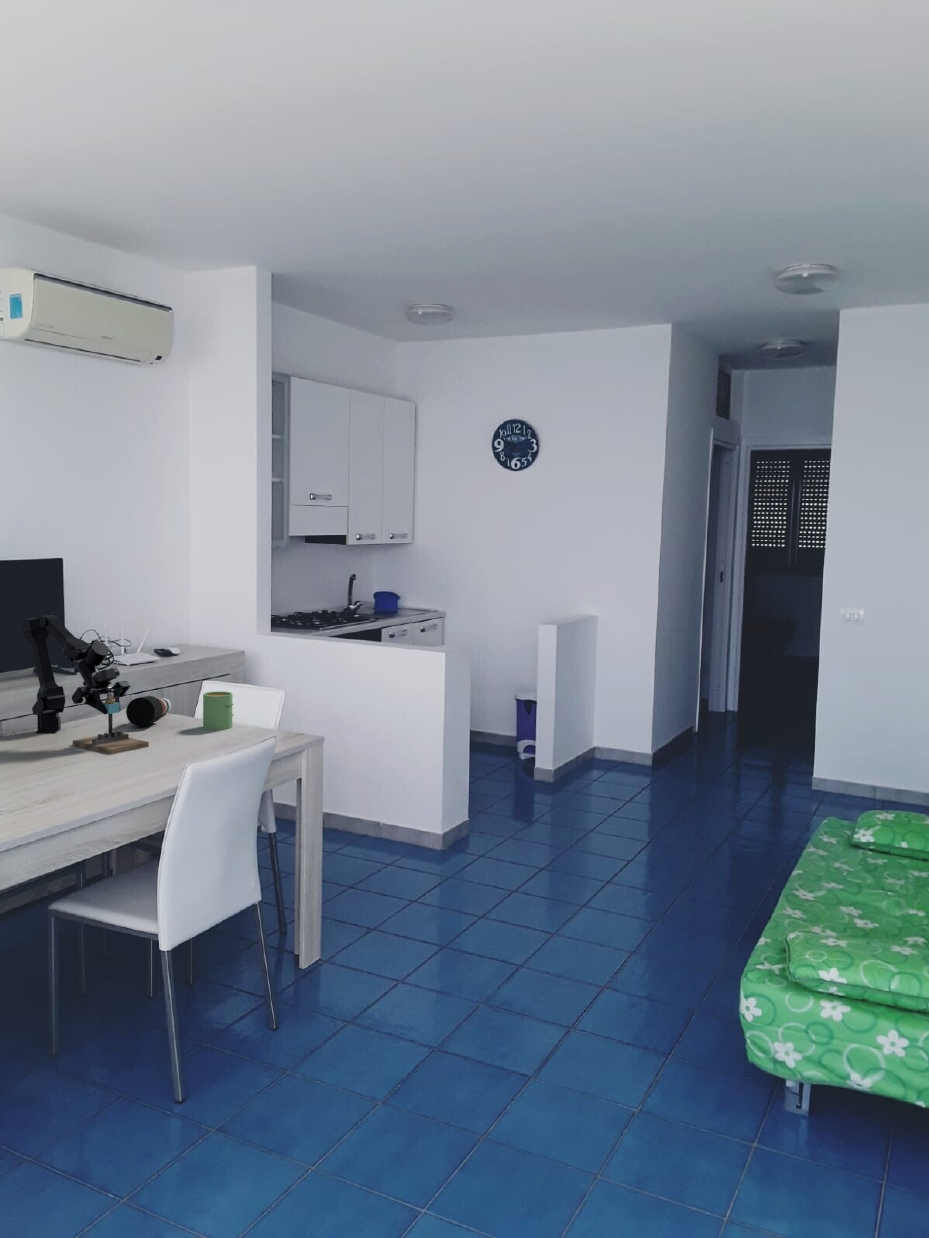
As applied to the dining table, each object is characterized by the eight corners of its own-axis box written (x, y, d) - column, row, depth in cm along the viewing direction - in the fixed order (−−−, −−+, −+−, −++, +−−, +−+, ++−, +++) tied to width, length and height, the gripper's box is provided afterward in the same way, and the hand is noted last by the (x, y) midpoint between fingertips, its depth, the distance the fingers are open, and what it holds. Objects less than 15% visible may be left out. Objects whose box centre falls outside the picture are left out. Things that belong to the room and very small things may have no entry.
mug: (229, 730, 348) (229, 696, 347) (199, 729, 348) (199, 695, 347) (238, 723, 361) (238, 690, 360) (209, 722, 361) (209, 689, 360)
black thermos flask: (172, 722, 381) (185, 699, 381) (146, 731, 348) (159, 706, 348) (149, 710, 381) (162, 687, 381) (120, 717, 348) (134, 692, 348)
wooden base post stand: (72, 744, 321) (71, 692, 319) (109, 737, 332) (109, 686, 330) (111, 754, 309) (111, 699, 308) (148, 746, 321) (148, 693, 319)
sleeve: (101, 712, 319) (101, 703, 319) (111, 710, 322) (111, 701, 322) (108, 714, 317) (108, 704, 317) (119, 712, 320) (119, 703, 320)
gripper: (76, 662, 313) (98, 701, 307) (126, 656, 328) (148, 693, 323) (61, 684, 318) (83, 722, 313) (111, 677, 333) (133, 714, 328)
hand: (113, 712), depth 319 cm, fingers open, 5 cm apart
